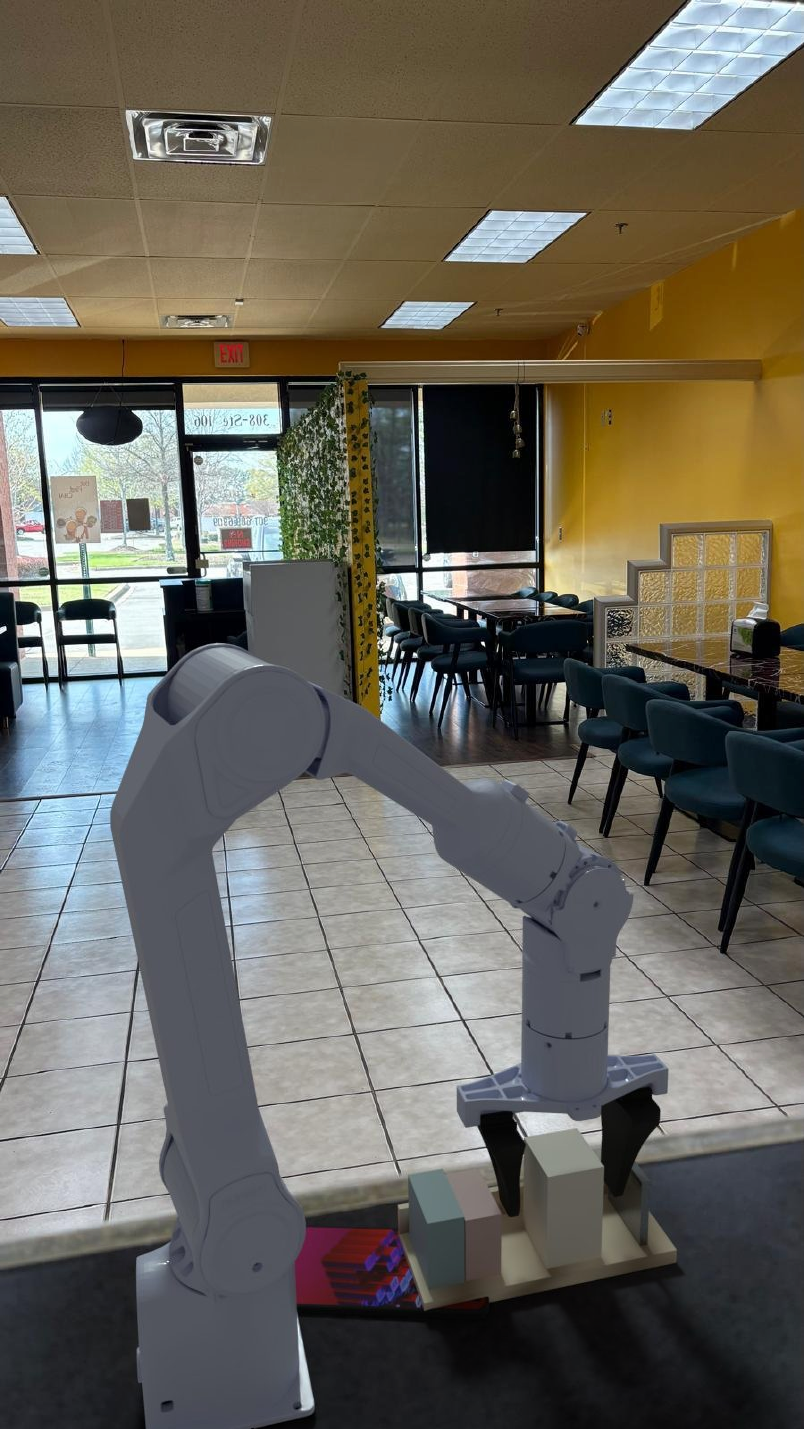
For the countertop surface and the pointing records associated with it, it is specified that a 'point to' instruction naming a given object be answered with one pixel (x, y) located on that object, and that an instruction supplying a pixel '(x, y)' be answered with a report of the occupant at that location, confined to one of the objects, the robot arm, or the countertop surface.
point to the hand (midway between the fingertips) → (561, 1196)
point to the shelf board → (528, 1270)
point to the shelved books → (454, 1227)
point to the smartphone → (364, 1276)
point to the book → (563, 1197)
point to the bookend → (634, 1204)
